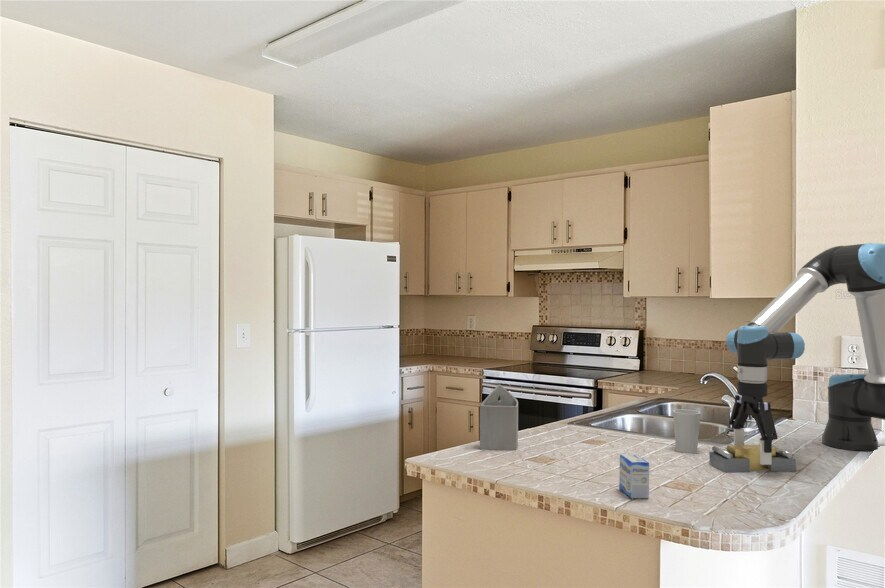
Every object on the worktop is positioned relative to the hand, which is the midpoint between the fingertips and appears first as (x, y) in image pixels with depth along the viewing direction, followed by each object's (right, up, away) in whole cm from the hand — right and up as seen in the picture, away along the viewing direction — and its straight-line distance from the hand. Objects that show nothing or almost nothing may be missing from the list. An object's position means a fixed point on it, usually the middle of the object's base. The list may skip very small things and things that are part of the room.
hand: (751, 457), depth 176 cm
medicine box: (-40, -3, -24) cm, 47 cm away
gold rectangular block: (0, -3, 0) cm, 3 cm away
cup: (-11, -3, +19) cm, 22 cm away
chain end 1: (-6, -3, 0) cm, 7 cm away
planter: (-66, -3, +21) cm, 69 cm away
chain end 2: (+6, -3, 0) cm, 7 cm away
